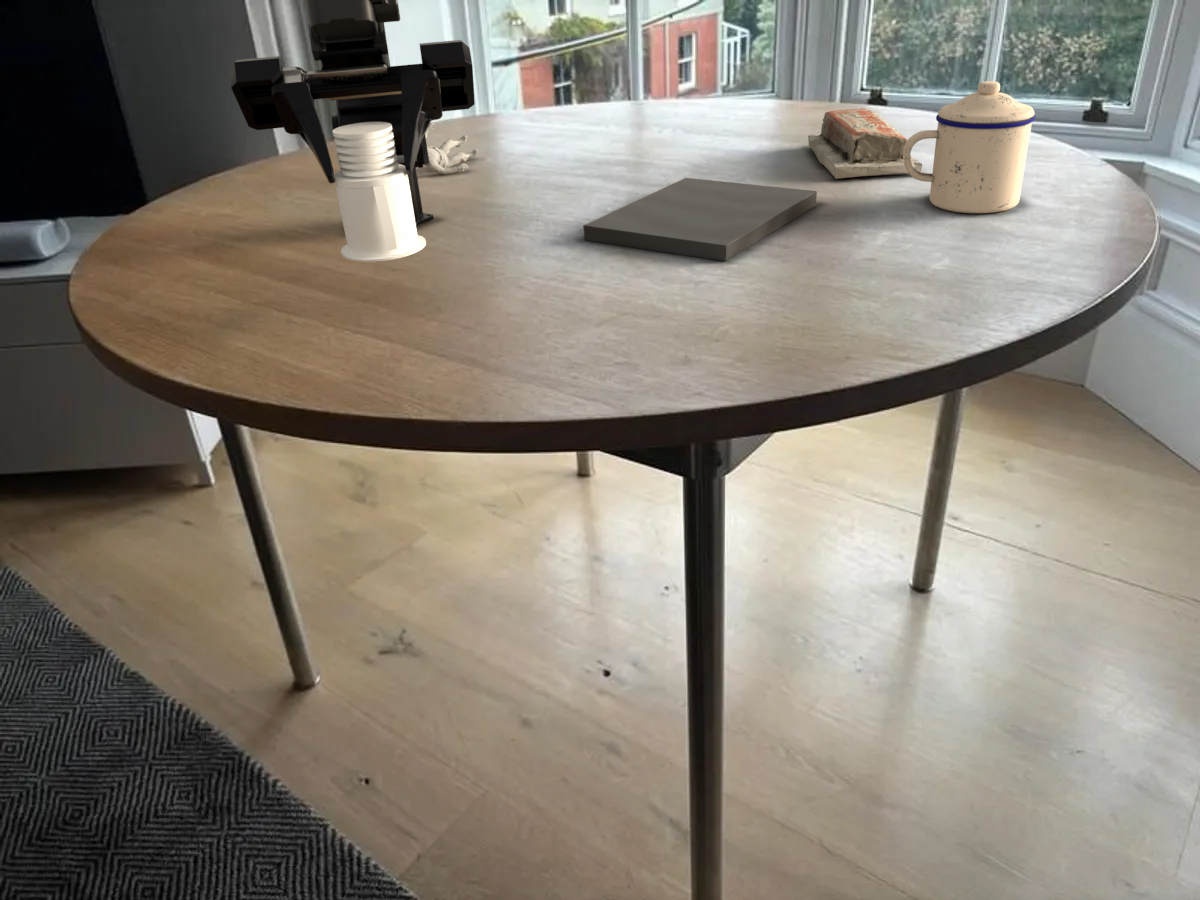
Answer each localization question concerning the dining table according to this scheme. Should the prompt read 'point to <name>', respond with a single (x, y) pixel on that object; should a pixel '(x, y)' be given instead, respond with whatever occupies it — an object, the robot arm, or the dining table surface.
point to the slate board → (701, 218)
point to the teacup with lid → (977, 152)
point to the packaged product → (859, 145)
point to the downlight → (374, 195)
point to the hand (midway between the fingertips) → (369, 176)
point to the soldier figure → (442, 162)
